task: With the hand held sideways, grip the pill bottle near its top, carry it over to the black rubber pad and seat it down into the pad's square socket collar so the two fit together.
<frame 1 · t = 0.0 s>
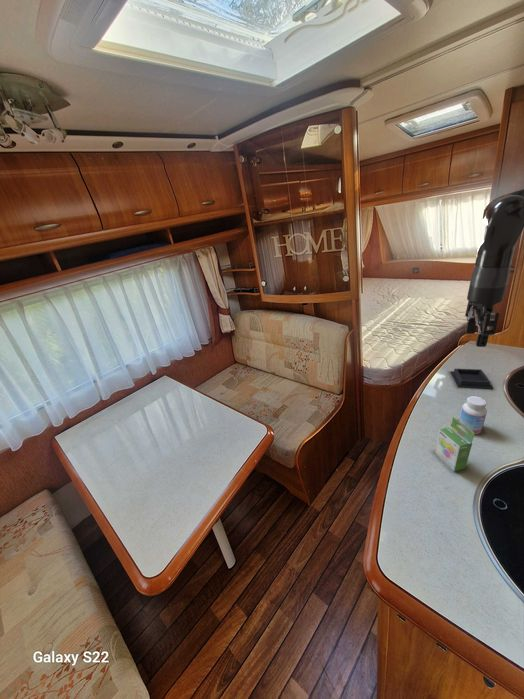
hand: (475, 339, 77), 31 cm above the counter, tool pointing down, fingers open, 8 cm apart
socket pad: (470, 381, 108), on the counter
ink box: (449, 461, 78), on the counter
pill bottle: (469, 428, 88), on the counter
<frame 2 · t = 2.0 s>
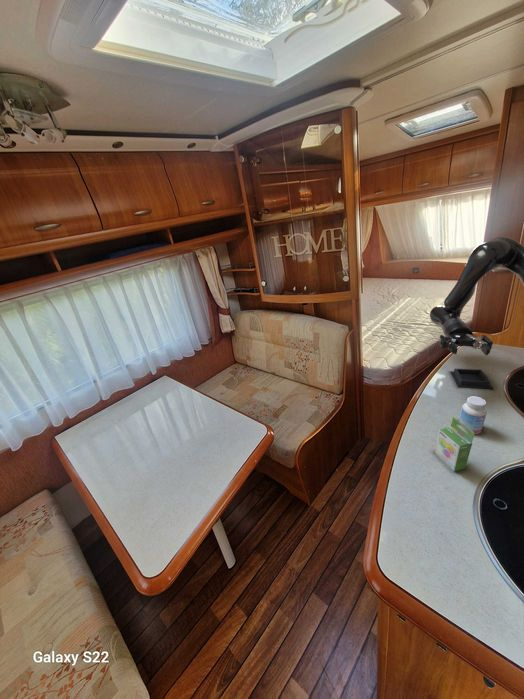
hand: (471, 352, 87), 22 cm above the counter, tool horizontal, fingers open, 8 cm apart
nothing on the counter moved.
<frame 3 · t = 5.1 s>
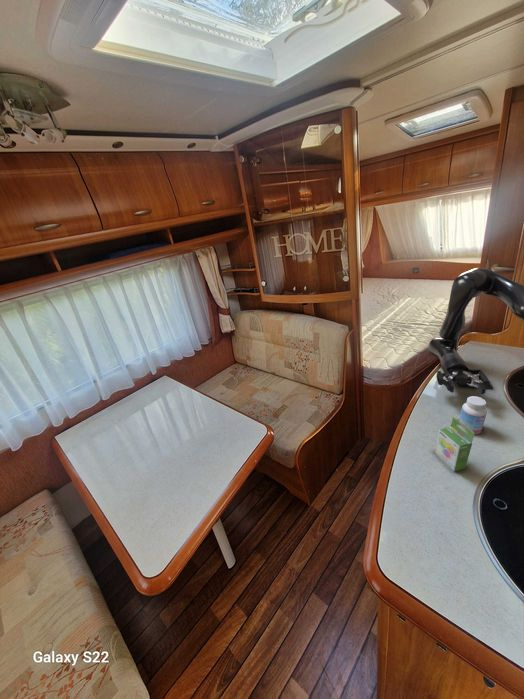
hand: (467, 391, 90), 9 cm above the counter, tool horizontal, fingers open, 8 cm apart
nothing on the counter moved.
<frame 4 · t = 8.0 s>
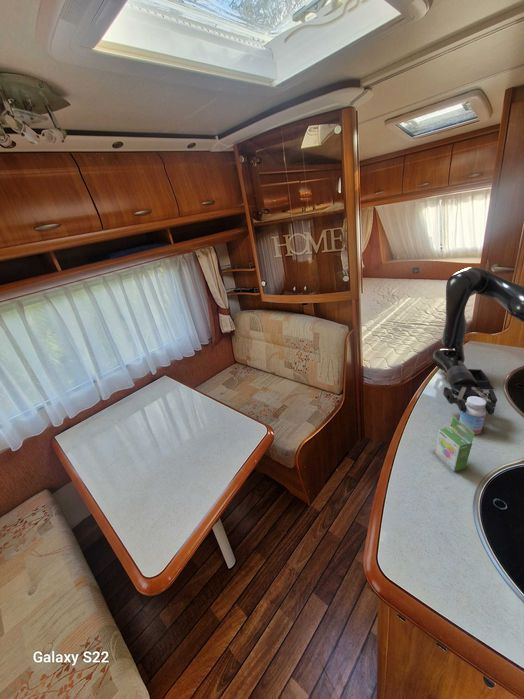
hand: (478, 411, 82), 9 cm above the counter, tool horizontal, fingers closed on pill bottle, 6 cm apart
pill bottle: (469, 428, 88), on the counter, touching gripper
everything else where it was.
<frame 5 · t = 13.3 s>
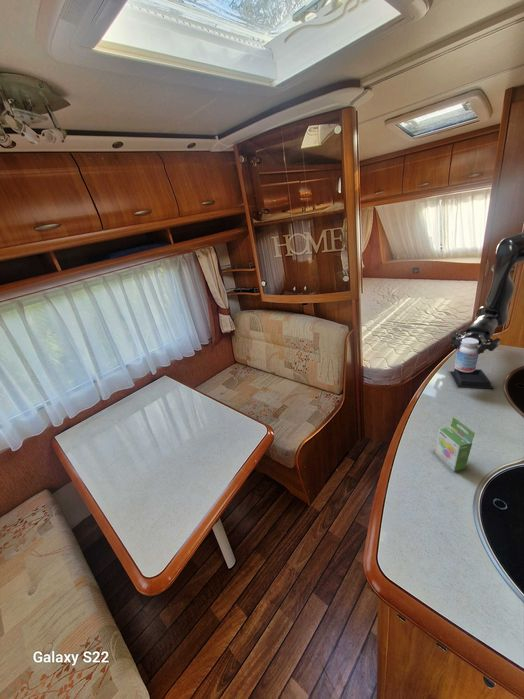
hand: (467, 349, 92), 20 cm above the counter, tool horizontal, fingers closed on pill bottle, 6 cm apart
pill bottle: (464, 368, 97), point 11 cm above the counter, touching gripper
everything else where it was.
when the fingers open (10 cm above the counter, at t = 18.5 s): pill bottle stays where it is, resting on socket pad.
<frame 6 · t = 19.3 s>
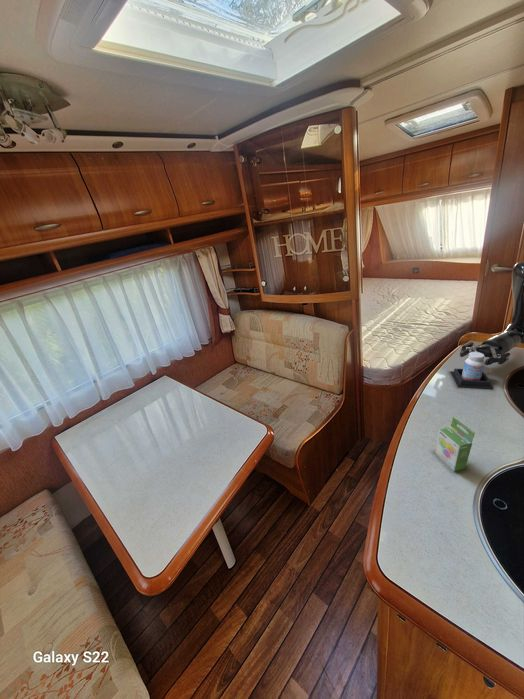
hand: (473, 358, 103), 11 cm above the counter, tool horizontal, fingers open, 8 cm apart
pill bottle: (470, 379, 108), point 1 cm above the counter, touching socket pad
everything else where it was.
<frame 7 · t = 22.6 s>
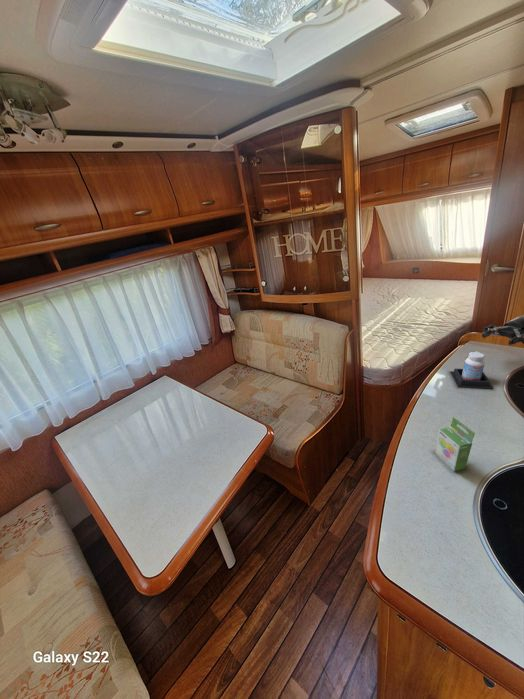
hand: (496, 338, 103), 17 cm above the counter, tool horizontal, fingers open, 8 cm apart
nothing on the counter moved.
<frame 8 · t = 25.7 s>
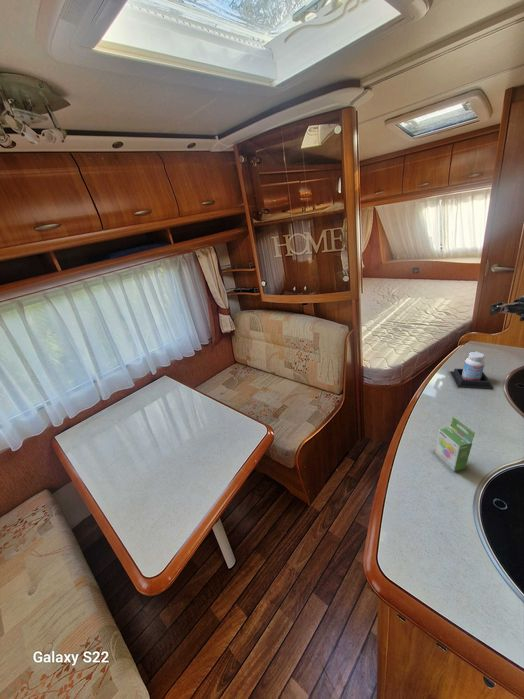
hand: (506, 315, 94), 28 cm above the counter, tool horizontal, fingers open, 8 cm apart
nothing on the counter moved.
at the end: pill bottle 0.1 cm off-centre on the socket pad, point 0.8 cm above the socket pad's base; pill bottle tilted 0°; the gripper is holding nothing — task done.
